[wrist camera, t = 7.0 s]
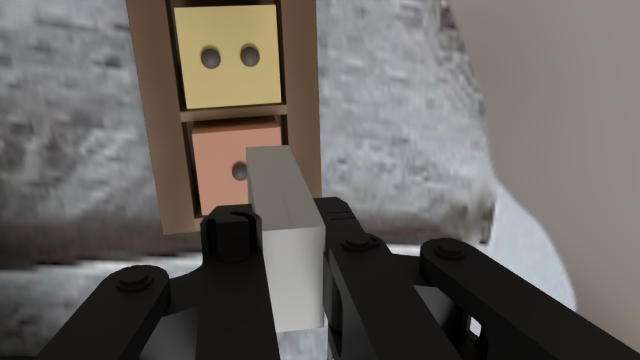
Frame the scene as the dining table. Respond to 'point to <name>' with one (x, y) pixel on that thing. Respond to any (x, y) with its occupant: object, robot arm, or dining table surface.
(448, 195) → the dining table surface
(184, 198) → the key strip
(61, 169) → the dining table surface
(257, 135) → the tile one
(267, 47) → the tile two
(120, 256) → the dining table surface
